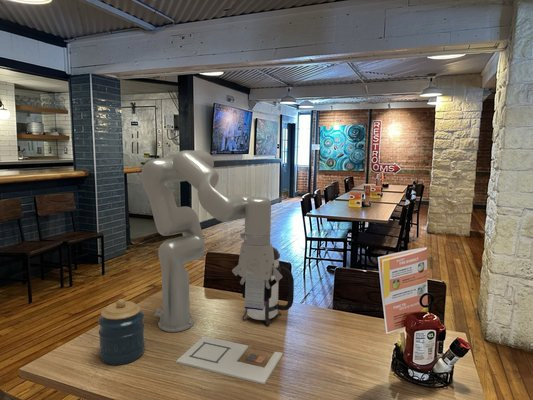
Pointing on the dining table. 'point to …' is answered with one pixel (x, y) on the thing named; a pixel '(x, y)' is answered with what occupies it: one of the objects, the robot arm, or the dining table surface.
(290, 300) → the coffee press
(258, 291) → the supplement box
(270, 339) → the dining table surface
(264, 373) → the board
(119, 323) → the canister
